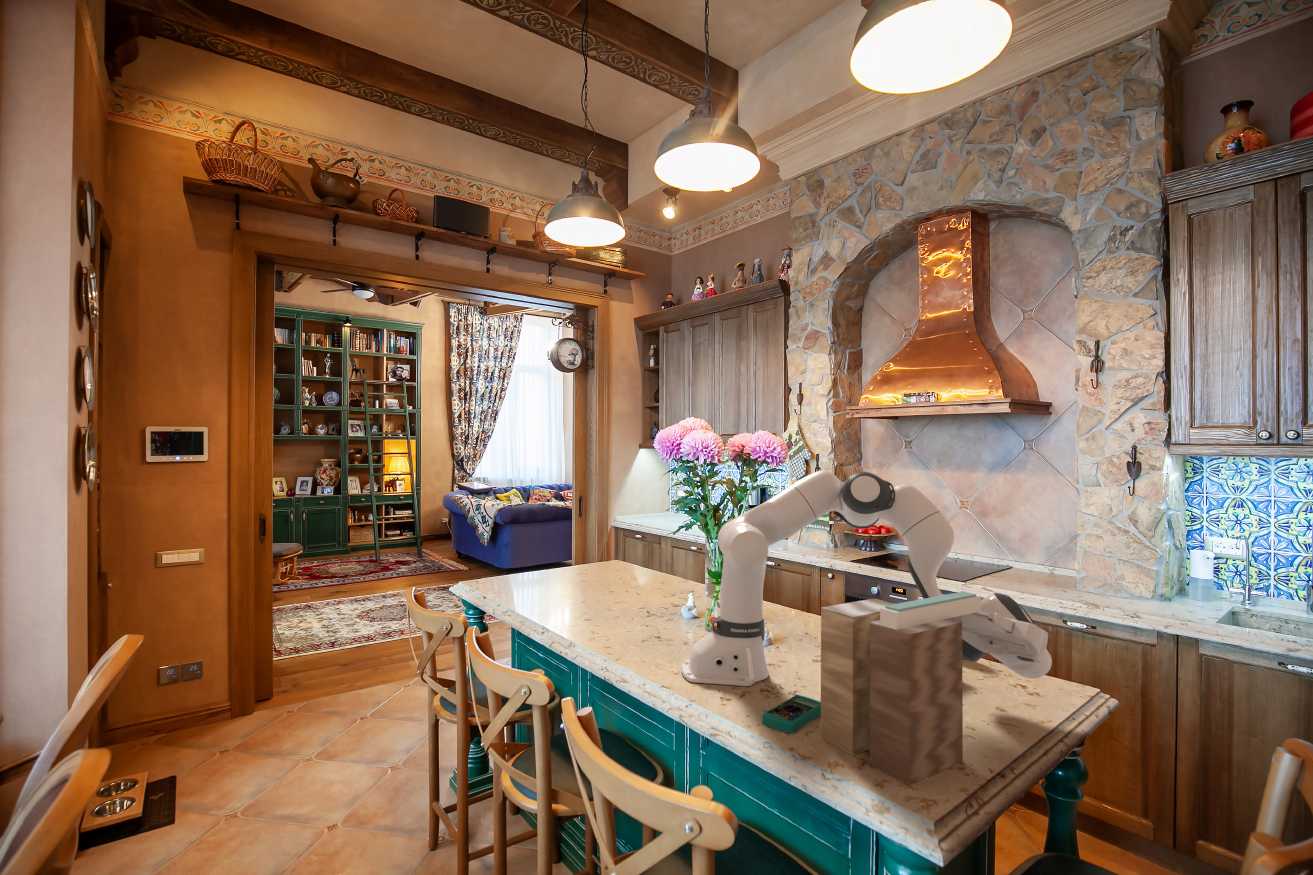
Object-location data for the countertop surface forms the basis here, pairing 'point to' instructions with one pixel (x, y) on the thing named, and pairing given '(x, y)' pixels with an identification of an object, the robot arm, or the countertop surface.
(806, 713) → the digital multimeter
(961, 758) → the walnut post
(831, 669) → the oak post
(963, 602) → the bar
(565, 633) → the countertop surface
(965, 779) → the countertop surface
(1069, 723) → the countertop surface
